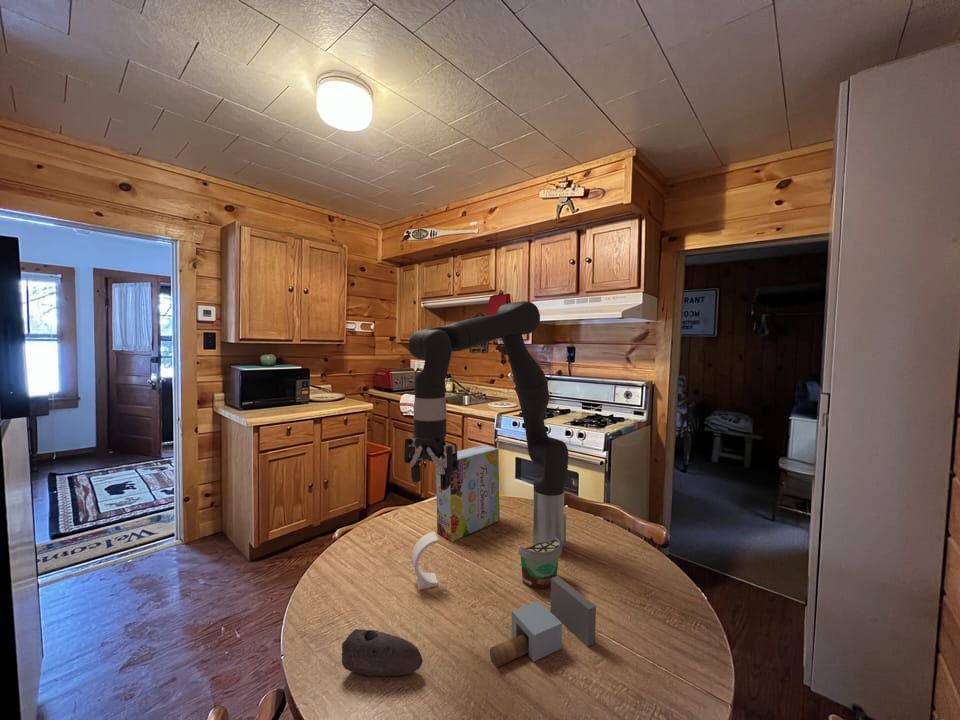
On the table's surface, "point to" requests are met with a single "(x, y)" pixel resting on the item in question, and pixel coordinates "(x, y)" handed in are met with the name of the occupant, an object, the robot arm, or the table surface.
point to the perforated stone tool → (379, 654)
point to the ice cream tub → (540, 563)
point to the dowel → (509, 650)
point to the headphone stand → (422, 577)
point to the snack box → (469, 493)
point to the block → (538, 629)
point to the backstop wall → (573, 610)
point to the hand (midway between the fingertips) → (430, 485)
